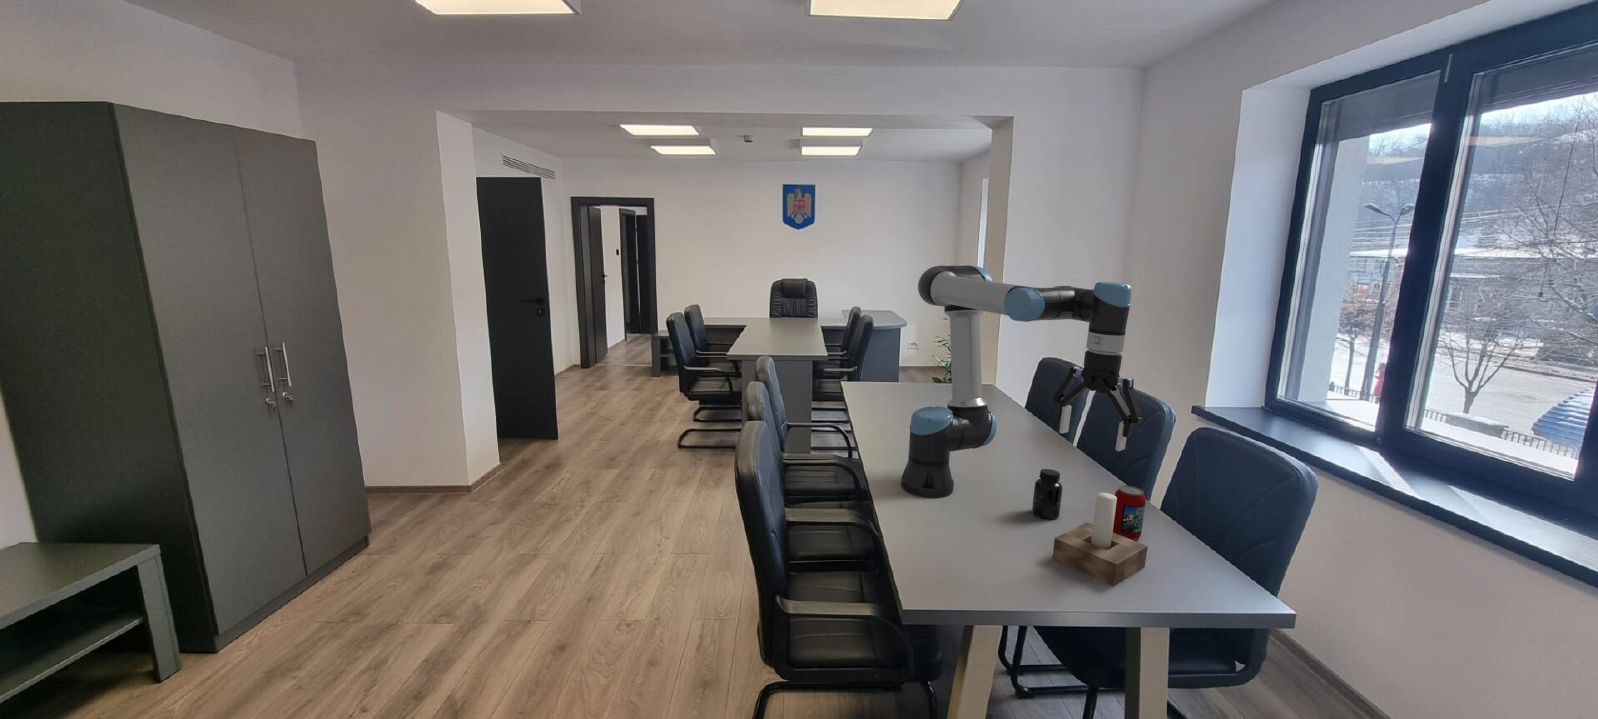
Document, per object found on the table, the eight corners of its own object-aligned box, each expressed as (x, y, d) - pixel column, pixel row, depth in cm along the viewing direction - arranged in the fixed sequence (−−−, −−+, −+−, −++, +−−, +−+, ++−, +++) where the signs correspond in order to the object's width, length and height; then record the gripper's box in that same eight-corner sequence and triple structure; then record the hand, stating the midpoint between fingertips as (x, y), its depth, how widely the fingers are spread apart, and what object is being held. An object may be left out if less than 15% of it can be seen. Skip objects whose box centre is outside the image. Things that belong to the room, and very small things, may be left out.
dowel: (1085, 561, 137) (1093, 495, 134) (1094, 556, 139) (1102, 491, 136) (1102, 568, 134) (1111, 501, 131) (1111, 563, 136) (1120, 497, 133)
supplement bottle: (1061, 521, 157) (1066, 477, 154) (1034, 518, 158) (1038, 475, 156) (1056, 510, 163) (1060, 468, 161) (1029, 507, 165) (1034, 466, 162)
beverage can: (1129, 543, 146) (1135, 497, 143) (1104, 531, 151) (1109, 486, 149) (1146, 538, 149) (1153, 492, 146) (1121, 526, 154) (1127, 482, 152)
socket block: (1052, 558, 138) (1054, 537, 137) (1084, 541, 146) (1086, 522, 145) (1113, 586, 127) (1116, 564, 126) (1144, 566, 135) (1147, 545, 134)
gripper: (1044, 343, 143) (1033, 428, 148) (1153, 364, 124) (1137, 461, 128) (1062, 340, 148) (1051, 423, 152) (1170, 360, 128) (1154, 454, 133)
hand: (1090, 440), depth 140 cm, fingers open, 13 cm apart
